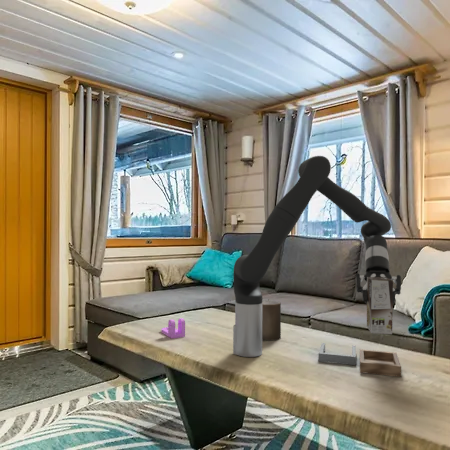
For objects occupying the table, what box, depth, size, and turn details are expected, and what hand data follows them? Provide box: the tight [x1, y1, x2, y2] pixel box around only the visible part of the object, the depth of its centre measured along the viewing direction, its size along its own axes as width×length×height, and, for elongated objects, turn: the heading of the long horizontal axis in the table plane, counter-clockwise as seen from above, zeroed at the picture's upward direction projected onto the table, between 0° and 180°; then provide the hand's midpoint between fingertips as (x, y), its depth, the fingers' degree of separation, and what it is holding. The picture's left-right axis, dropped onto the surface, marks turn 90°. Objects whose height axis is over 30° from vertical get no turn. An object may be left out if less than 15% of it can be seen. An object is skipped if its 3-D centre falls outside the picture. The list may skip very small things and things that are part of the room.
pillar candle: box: [262, 299, 282, 341], centre depth 158 cm, size 10×10×15 cm
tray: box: [359, 348, 402, 378], centre depth 124 cm, size 11×14×3 cm
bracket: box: [160, 317, 186, 339], centre depth 162 cm, size 13×6×7 cm, turn 31°
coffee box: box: [366, 277, 394, 335], centre depth 125 cm, size 9×6×16 cm
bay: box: [317, 342, 357, 366], centre depth 134 cm, size 11×13×2 cm
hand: (378, 302), depth 125 cm, fingers closed on coffee box, 7 cm apart
